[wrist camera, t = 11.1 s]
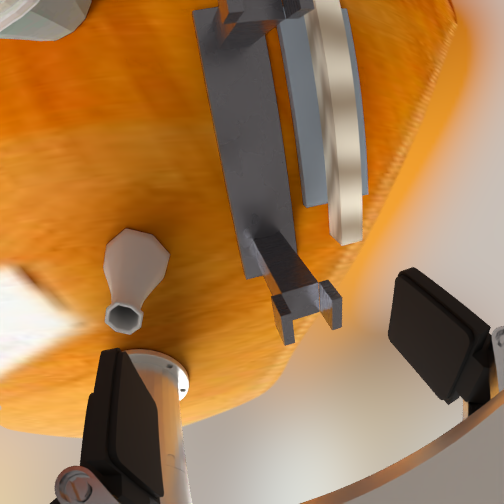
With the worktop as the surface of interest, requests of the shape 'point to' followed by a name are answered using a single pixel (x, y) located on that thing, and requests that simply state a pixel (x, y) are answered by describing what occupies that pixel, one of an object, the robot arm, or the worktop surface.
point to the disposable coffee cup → (41, 18)
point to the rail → (337, 119)
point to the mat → (313, 108)
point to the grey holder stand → (258, 154)
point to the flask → (132, 276)
